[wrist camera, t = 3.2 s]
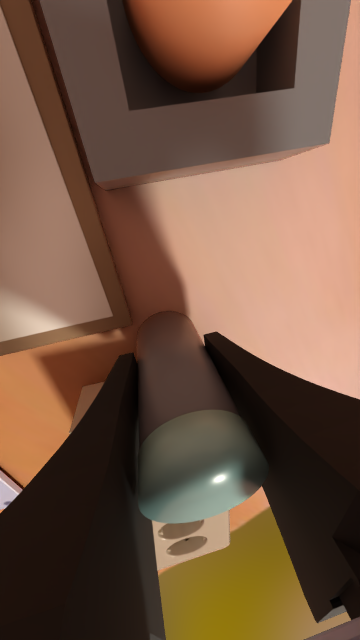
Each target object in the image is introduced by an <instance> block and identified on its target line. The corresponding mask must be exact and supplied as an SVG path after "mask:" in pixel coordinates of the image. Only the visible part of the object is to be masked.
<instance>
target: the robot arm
mask: <svg viewBox="0 0 360 640" xmlns="http://www.w3.org/2000/svg"><path fill="white" fill-rule="evenodd" d="M204 341H205V348H206V350H207V352H208V353H209V355H210V357H211V359H212V361H213V363H214V365H215V367H216V369H217V371H218V373H219V375H220V376H221V378H222V380H223V382H224V384H225V386H226V388H227V390H228V392H229V394H230V396H231V398H232V399H233V401H234V403H235V405H236V407H237V409H238V411H239V413H240V415H241V417H242V418H243V419H244V420H245V421H246V423H247V425H248V426H249V428H250V430H251V432H252V434H253V436H254V438H255V439H256V441H257V443H258V445H259V447H260V449H261V451H262V453H263V455H264V456H265V458H266V460H267V462H268V465H269V472H268V476H267V478H266V480H265V482H264V483H263V484H262V487H263V489H264V492H265V494H266V497H267V499H268V502H269V504H270V507H271V509H272V512H273V514H274V517H275V519H276V522H277V525H278V527H279V529H280V532H281V535H282V537H283V540H284V543H285V545H286V548H287V550H288V553H289V555H290V558H291V561H292V564H293V566H294V569H295V572H296V574H297V577H298V580H299V582H300V585H301V588H302V590H303V593H304V596H305V598H306V600H307V602H308V605H309V607H310V609H311V612H312V614H313V616H314V618H315V621H316V622H317V623H319V622H322V621H324V620H327V619H329V618H332V617H334V616H337V615H339V614H341V613H344V612H347V613H348V615H349V617H350V618H351V621H348V622H346V623H343V624H341V625H338V626H336V627H334V628H331V629H329V630H327V631H324V632H321V633H319V634H316V635H314V636H312V637H309V638H307V639H304V640H360V399H356V398H353V397H350V396H347V395H344V394H341V393H338V392H335V391H333V390H330V389H327V388H324V387H322V386H319V385H316V384H314V383H311V382H309V381H306V380H304V379H301V378H299V377H297V376H295V375H292V374H290V373H288V372H285V371H283V370H281V369H279V368H277V367H275V366H273V365H271V364H269V363H267V362H265V361H264V360H262V359H260V358H258V357H256V356H254V355H253V354H251V353H249V352H248V351H246V350H244V349H243V348H241V347H239V346H238V345H236V344H235V343H233V342H232V341H230V340H229V339H227V338H226V337H224V336H223V335H221V334H220V333H218V332H213V333H209V334H205V335H204ZM138 452H139V414H138V370H137V362H136V359H135V356H134V353H133V352H132V353H128V354H124V355H120V356H119V357H118V359H117V361H116V362H115V364H114V366H113V368H112V370H111V372H110V373H109V375H108V377H107V379H106V381H105V382H104V384H103V386H102V387H101V389H100V391H99V393H98V394H97V396H96V397H95V399H94V401H93V402H92V404H91V405H90V407H89V408H88V410H87V411H86V413H85V414H84V416H83V417H82V419H81V420H80V422H79V423H78V424H77V426H76V427H75V428H74V430H73V431H72V433H71V434H70V435H69V436H68V438H67V439H66V440H65V442H64V443H63V444H62V445H61V447H60V448H59V449H58V450H57V451H56V453H55V454H54V455H53V456H52V457H51V458H50V460H49V461H48V462H47V463H46V464H45V465H44V467H43V468H42V469H41V470H40V471H39V472H38V474H37V475H36V476H35V477H34V478H33V479H32V480H31V482H30V483H29V484H28V485H27V486H26V487H25V488H24V489H23V490H22V489H21V488H20V487H19V486H18V485H17V484H16V483H14V482H13V481H12V480H11V479H10V478H9V477H8V476H6V475H5V474H4V473H3V472H2V471H1V470H0V509H4V508H5V509H4V510H3V511H2V512H1V513H0V640H166V637H165V629H164V621H163V614H162V605H161V597H160V589H159V580H158V571H157V562H156V553H155V543H154V534H153V524H152V520H150V519H148V518H147V517H145V516H144V515H143V514H142V513H141V511H140V509H139V505H138Z"/></svg>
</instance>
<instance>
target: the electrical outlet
mask: <svg viewBox="0 0 360 640" xmlns="http://www.w3.org/2000/svg"><path fill="white" fill-rule="evenodd" d="M103 384H104V382H101V383H96V384H92V385H88V386H83V387H82V390H81V394H80V397H79V401H78V404H77V407H76V411H75V414H74V418H73V421H72V425H71V428H70V431H69V433H70V434H71V433H72V431H73V430H74V428H75V427H76V426H77V424H78V423H79V422H80V420H81V419H82V417H83V416H84V414H85V413H86V411H87V410H88V408H89V407H90V405H91V404H92V402H93V401H94V399H95V397H96V396H97V394H98V393H99V391H100V389H101V387H102V386H103ZM152 524H153V534H154V543H155V553H156V562H157V571H158V570H161V569H164V568H167V567H170V566H173V565H176V564H179V563H182V562H185V561H187V560H190V559H193V558H196V557H199V556H202V555H205V554H208V553H211V552H214V551H217V550H220V549H223V548H225V547H227V546H228V545H229V543H230V514H229V510H228V511H225V512H223V513H221V514H218V515H215V516H213V517H210V518H206V519H203V520H199V521H194V522H188V523H177V524H169V523H161V522H156V521H153V520H152Z"/></svg>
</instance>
